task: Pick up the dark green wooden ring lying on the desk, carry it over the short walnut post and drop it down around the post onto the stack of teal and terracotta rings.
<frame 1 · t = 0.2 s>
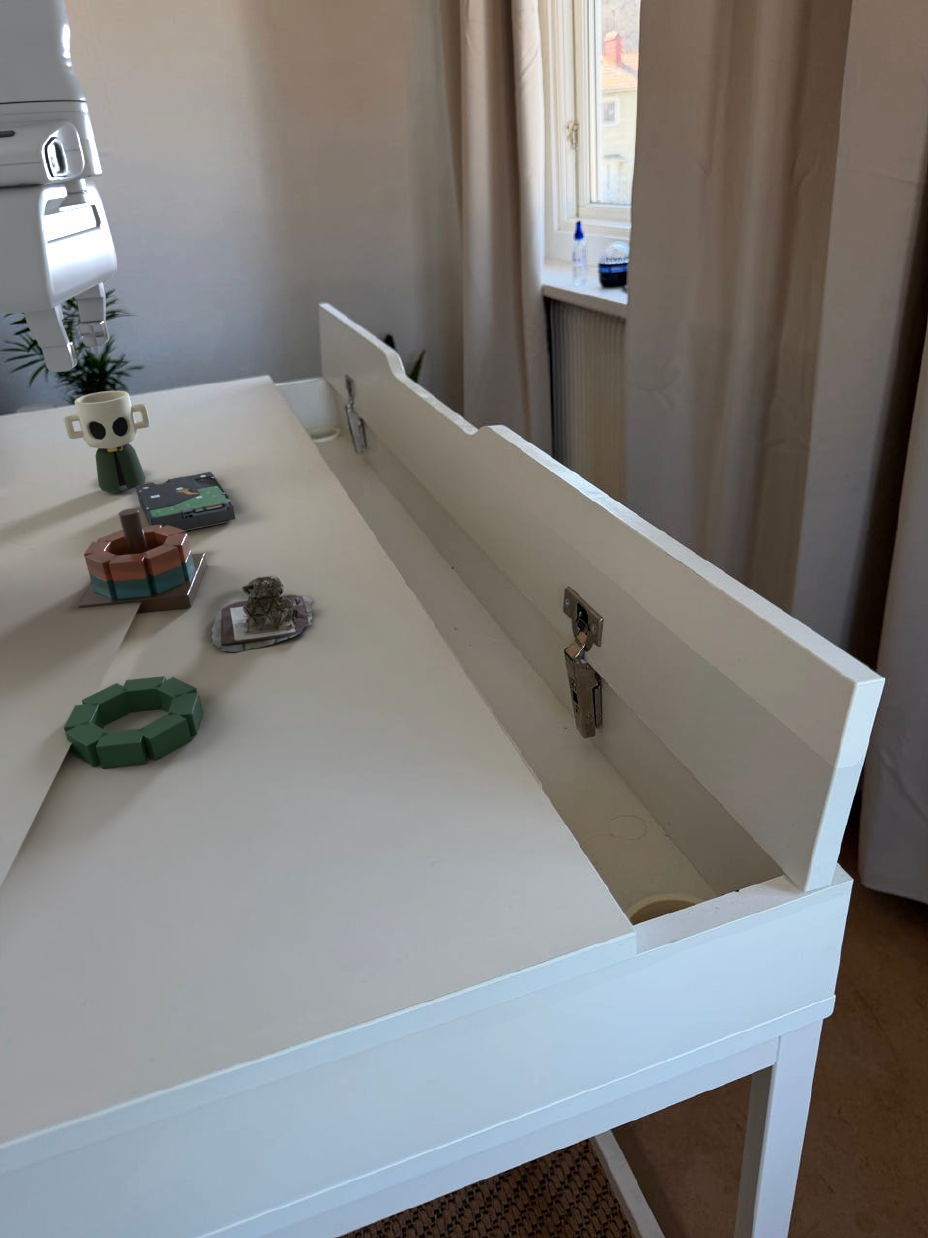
hand: (81, 356, 72), 28 cm above the table, tool pointing down, fingers open, 8 cm apart
ring stack: (147, 590, 101), on the table
figurine on base: (263, 623, 93), on the table
character mug: (124, 489, 134), on the table
green ring: (138, 730, 76), on the table
disk drive: (186, 513, 122), on the table
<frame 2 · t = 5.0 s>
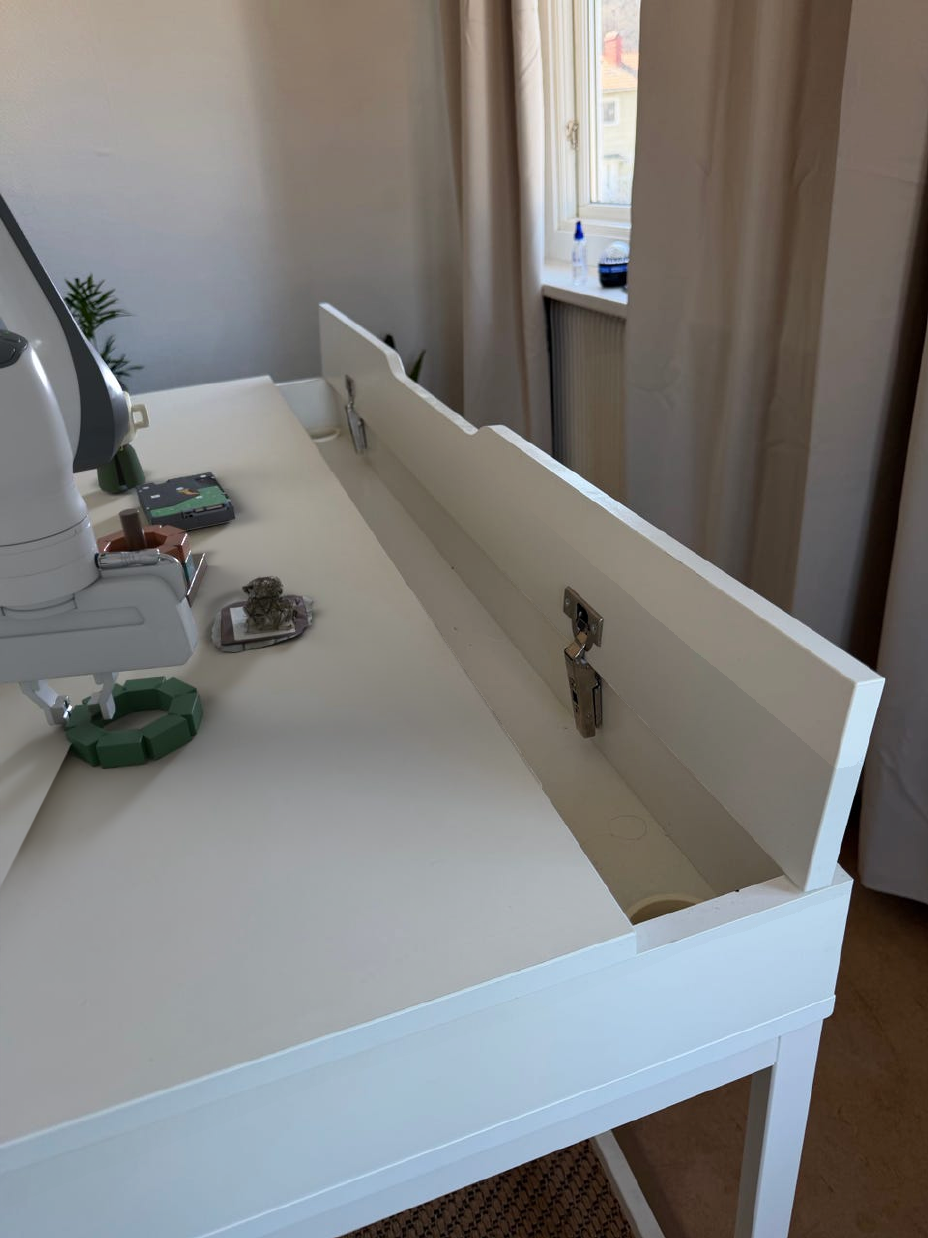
hand: (82, 718, 75), 2 cm above the table, tool pointing down, fingers closed on green ring, 2 cm apart
green ring: (138, 730, 76), on the table, touching gripper
everything else where it was.
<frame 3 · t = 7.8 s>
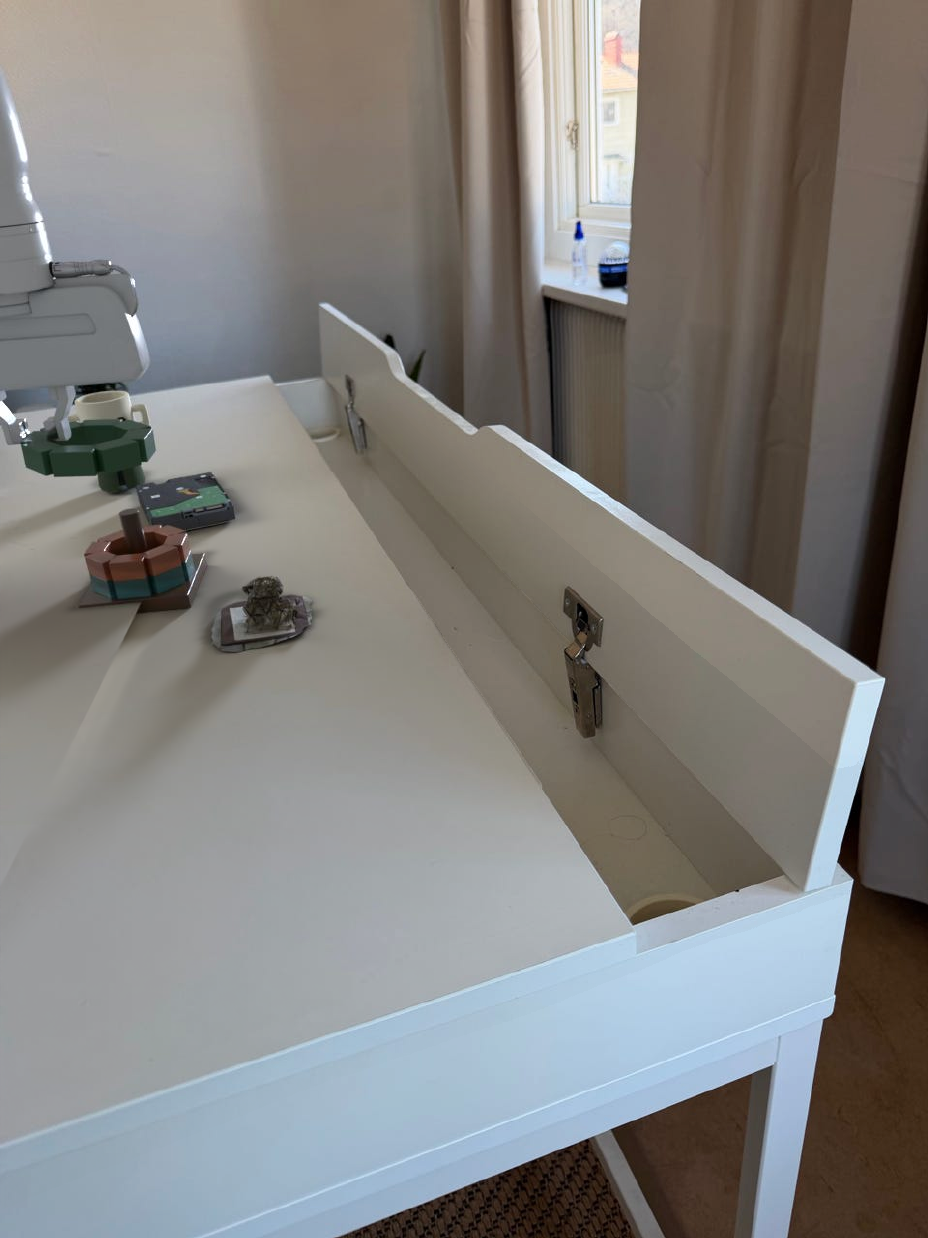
hand: (39, 441, 79), 21 cm above the table, tool pointing down, fingers closed on green ring
green ring: (92, 457, 80), point 19 cm above the table, touching gripper
everything else where it was.
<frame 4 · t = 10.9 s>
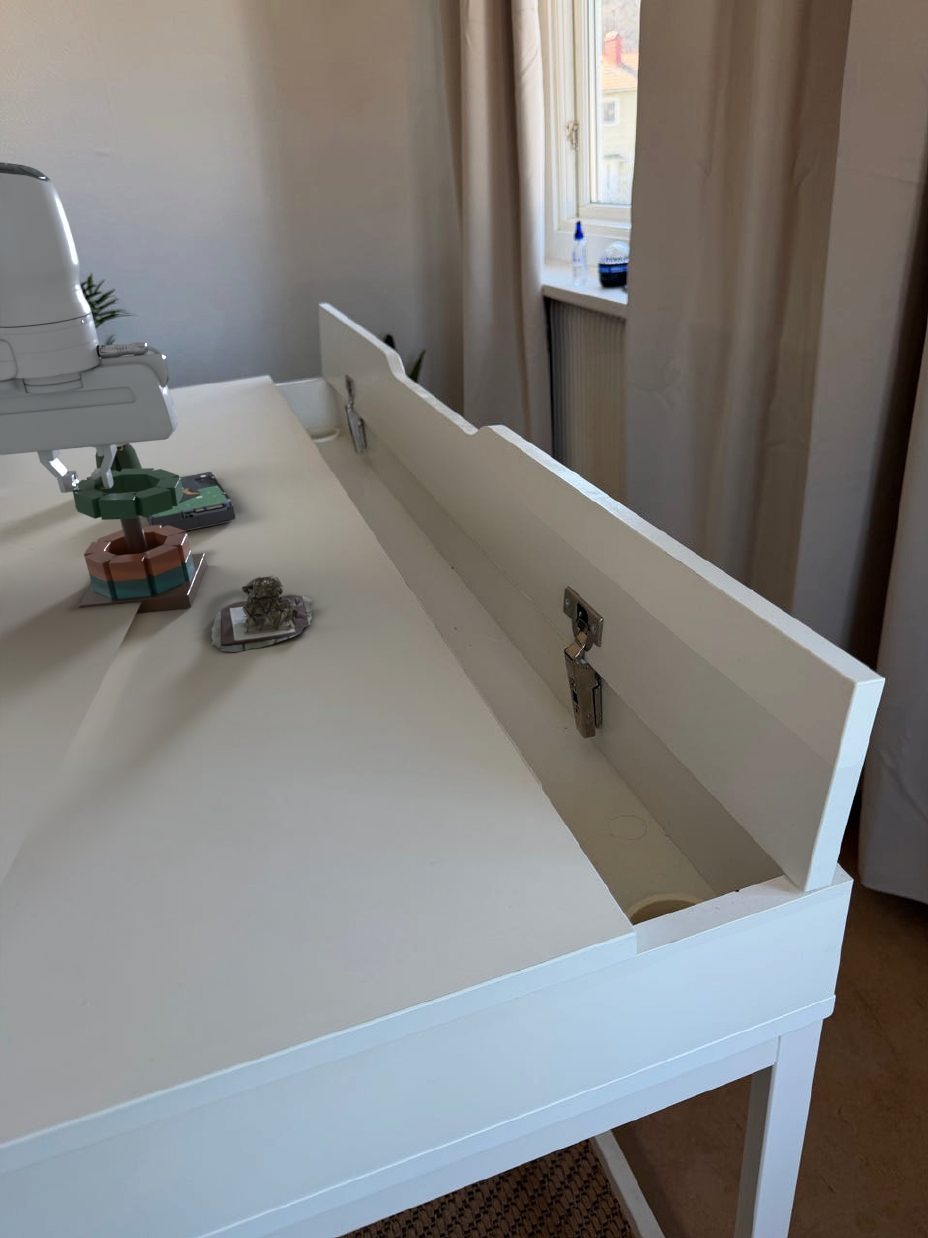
hand: (87, 489, 96), 12 cm above the table, tool pointing down, fingers closed on green ring
green ring: (130, 502, 97), point 10 cm above the table, touching gripper
everything else where it was.
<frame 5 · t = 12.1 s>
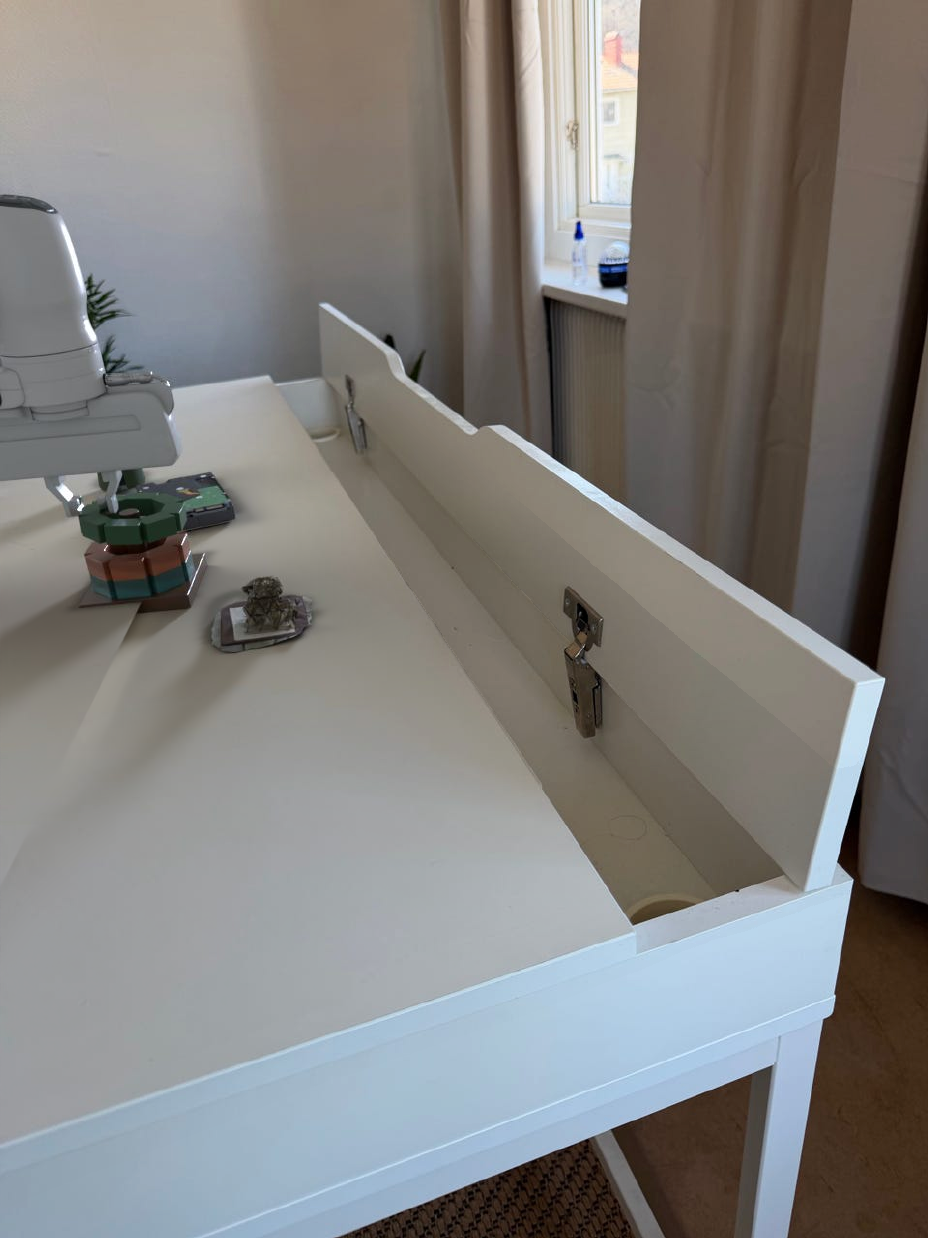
hand: (93, 513, 97), 9 cm above the table, tool pointing down, fingers closed on green ring, 2 cm apart
green ring: (135, 526, 98), point 7 cm above the table, touching gripper
everything else where it was.
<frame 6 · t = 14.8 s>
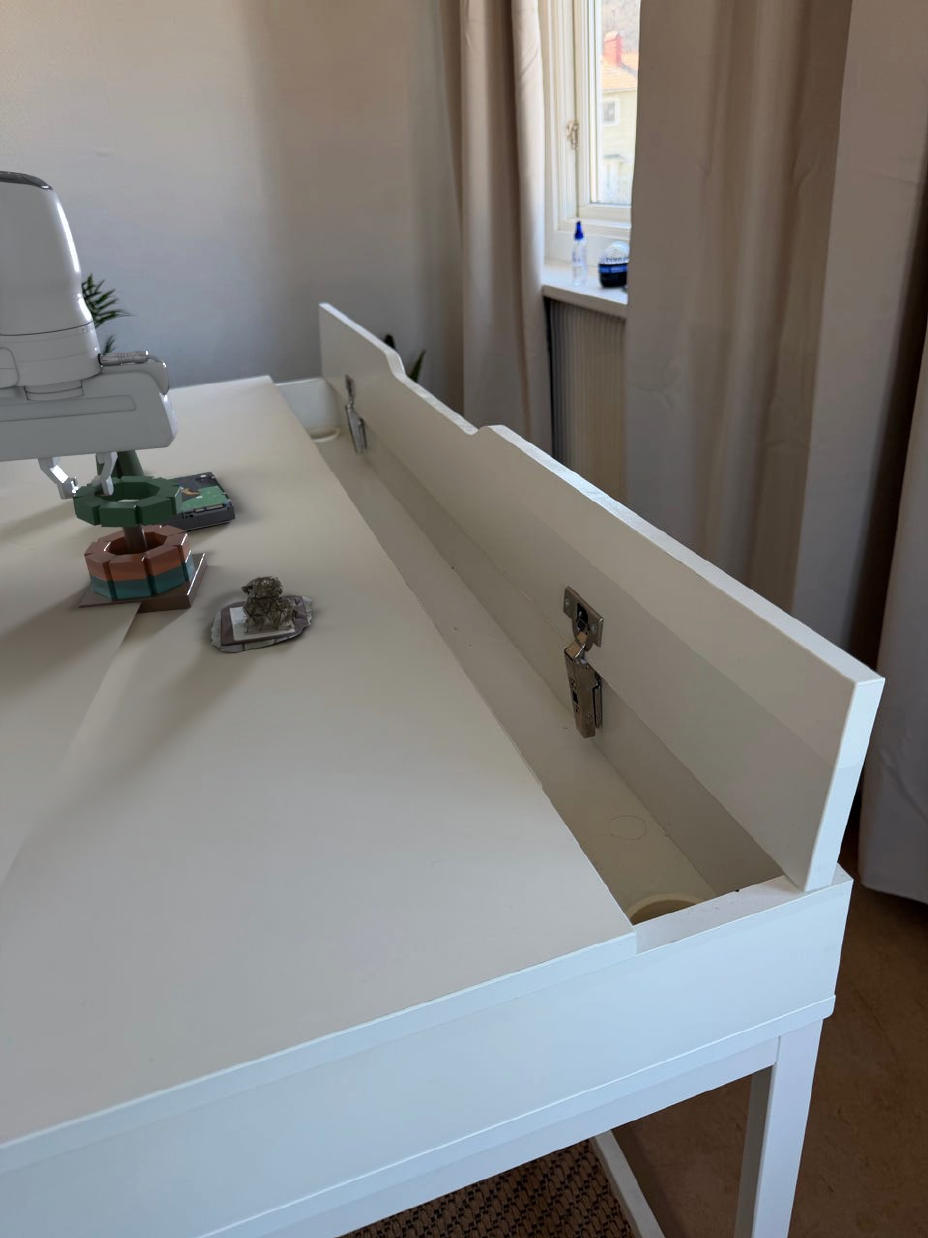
hand: (87, 495, 96), 11 cm above the table, tool pointing down, fingers closed on green ring
green ring: (130, 509, 97), point 9 cm above the table, tilted 6°, touching gripper
everything else where it was.
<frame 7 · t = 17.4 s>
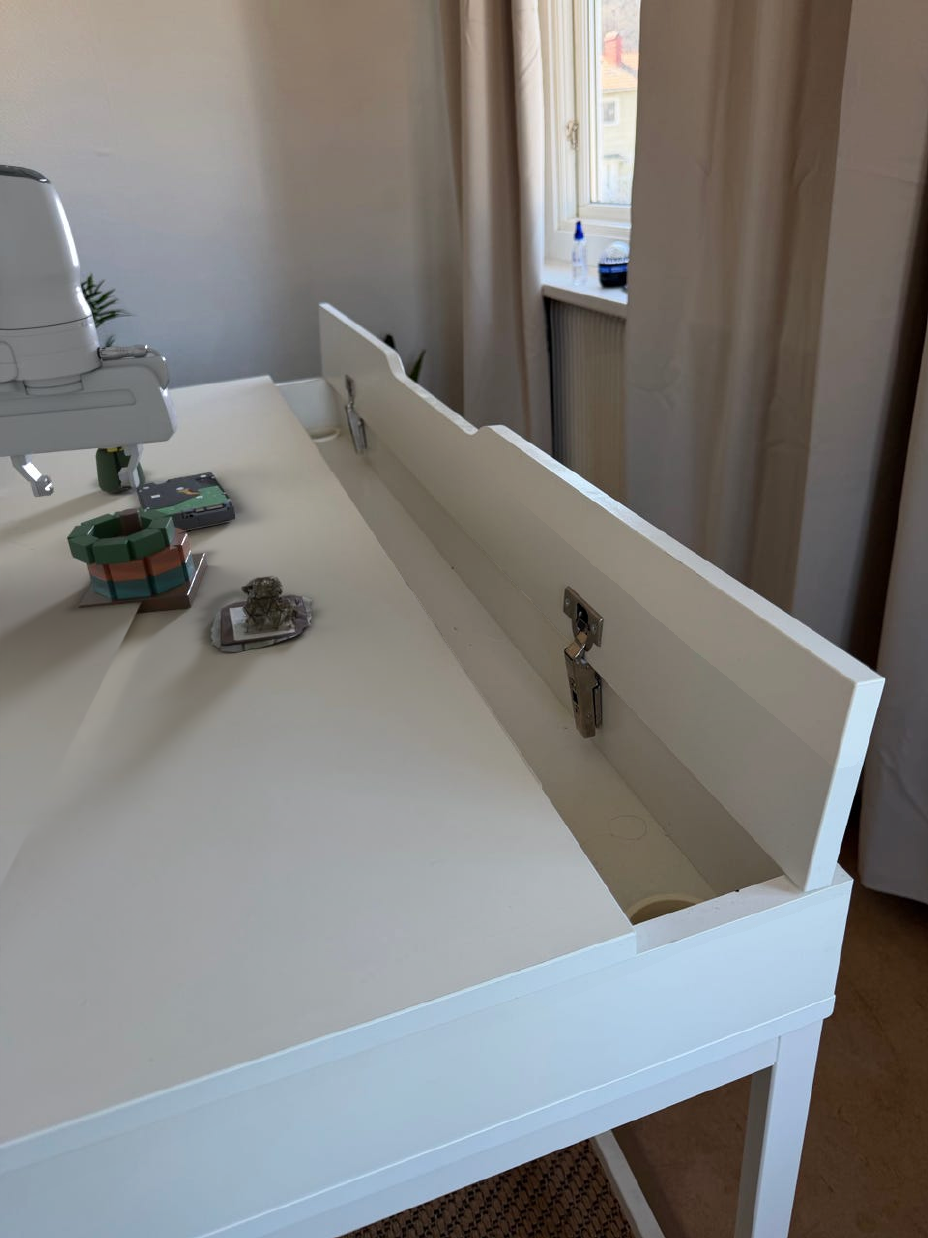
hand: (88, 490, 96), 12 cm above the table, tool pointing down, fingers open, 7 cm apart
green ring: (124, 544, 98), point 5 cm above the table, touching ring stack
everything else where it was.
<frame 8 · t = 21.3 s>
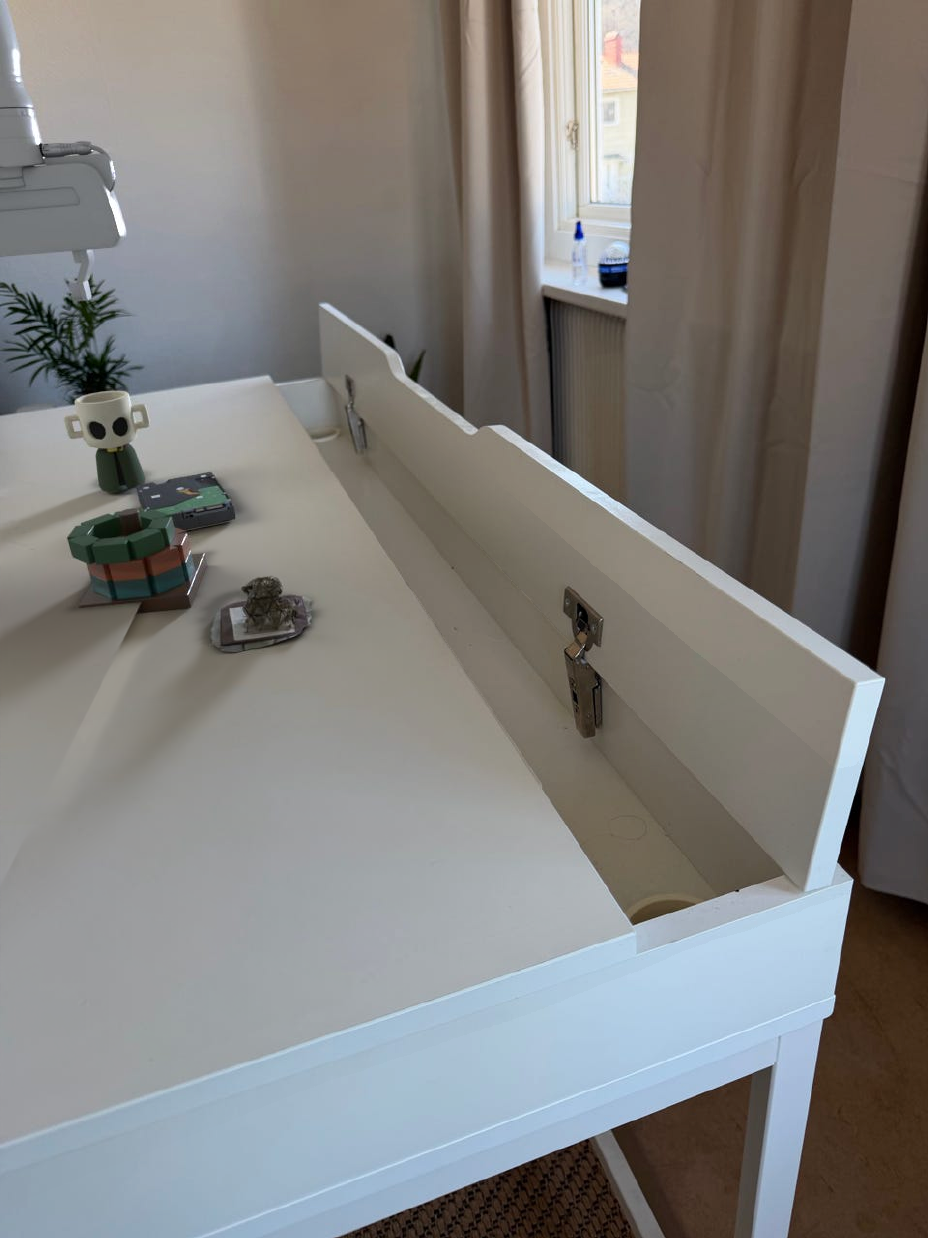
hand: (33, 304, 93), 29 cm above the table, tool pointing down, fingers open, 8 cm apart
nothing on the table moved.
at the end: green ring 1.2 cm off-centre on the ring stack, point 5.5 cm above the ring stack's base; green ring tilted 0° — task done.
